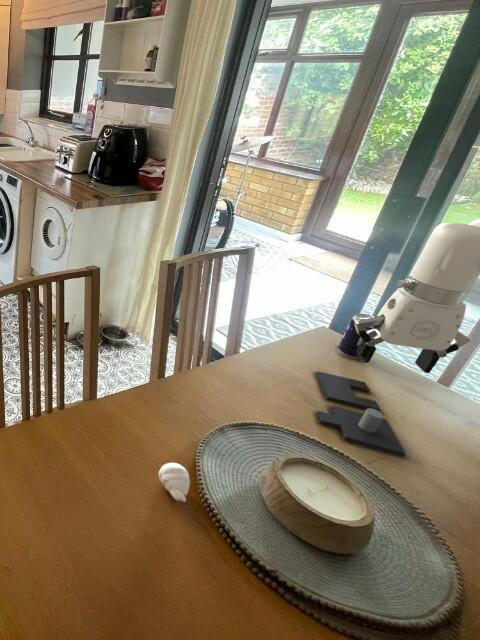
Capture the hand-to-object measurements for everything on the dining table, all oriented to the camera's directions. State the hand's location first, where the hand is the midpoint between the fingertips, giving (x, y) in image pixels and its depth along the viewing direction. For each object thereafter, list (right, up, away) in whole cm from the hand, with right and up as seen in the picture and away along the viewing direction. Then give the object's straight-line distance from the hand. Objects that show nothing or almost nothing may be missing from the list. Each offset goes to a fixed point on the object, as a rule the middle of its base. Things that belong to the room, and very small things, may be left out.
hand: (391, 363), depth 82 cm
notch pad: (+10, -13, +21) cm, 26 cm away
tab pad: (+3, -18, +11) cm, 21 cm away
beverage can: (+23, -6, +34) cm, 42 cm away
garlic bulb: (-45, -25, -3) cm, 52 cm away
